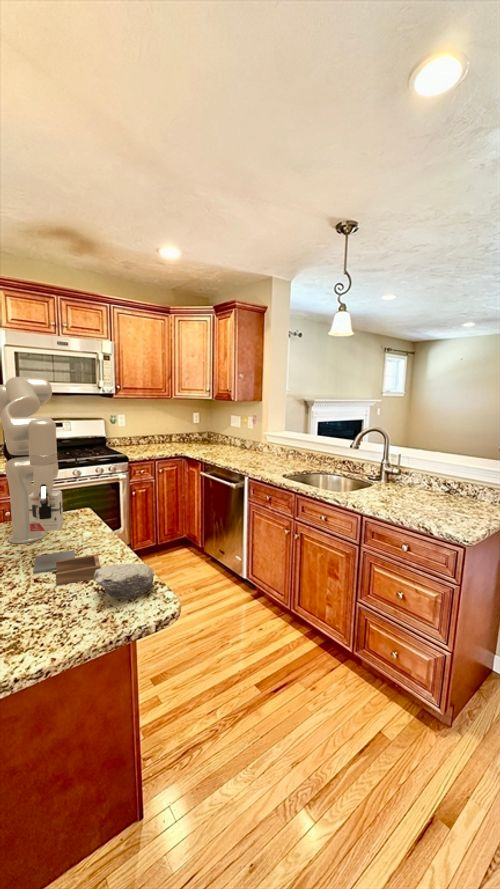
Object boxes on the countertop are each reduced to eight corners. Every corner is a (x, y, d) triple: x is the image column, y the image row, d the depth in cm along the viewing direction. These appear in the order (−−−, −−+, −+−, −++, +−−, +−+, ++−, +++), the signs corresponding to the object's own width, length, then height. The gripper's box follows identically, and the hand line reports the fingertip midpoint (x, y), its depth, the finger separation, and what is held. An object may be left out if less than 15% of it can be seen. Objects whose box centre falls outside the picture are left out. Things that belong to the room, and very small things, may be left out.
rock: (157, 599, 105) (162, 569, 103) (97, 615, 95) (101, 583, 92) (143, 576, 113) (148, 548, 111) (86, 589, 103) (90, 559, 100)
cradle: (56, 571, 116) (56, 560, 115) (98, 563, 121) (97, 554, 121) (56, 586, 107) (55, 574, 107) (100, 577, 112) (100, 566, 112)
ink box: (29, 532, 113) (27, 495, 111) (35, 526, 118) (33, 490, 116) (59, 530, 115) (57, 494, 113) (63, 524, 120) (62, 490, 118)
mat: (35, 558, 124) (35, 556, 124) (74, 552, 130) (74, 550, 130) (33, 574, 114) (33, 571, 114) (75, 566, 119) (75, 564, 119)
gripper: (32, 454, 119) (35, 507, 122) (26, 466, 104) (29, 526, 107) (58, 453, 122) (60, 505, 125) (55, 464, 107) (58, 523, 110)
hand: (46, 514), depth 116 cm, fingers closed on ink box, 5 cm apart
